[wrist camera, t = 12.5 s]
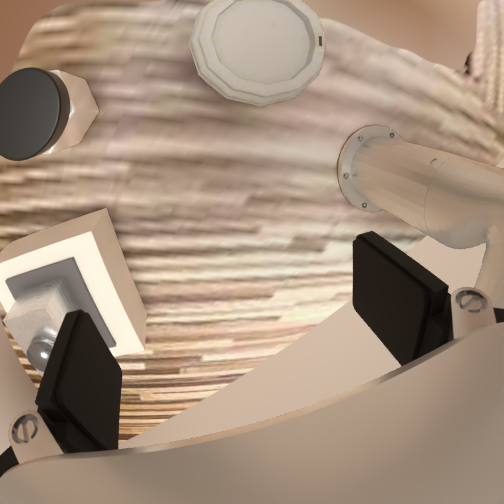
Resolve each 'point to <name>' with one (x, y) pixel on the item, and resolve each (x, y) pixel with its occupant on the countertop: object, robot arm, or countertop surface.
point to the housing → (40, 319)
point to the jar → (43, 112)
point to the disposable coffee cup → (257, 48)
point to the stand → (81, 276)
